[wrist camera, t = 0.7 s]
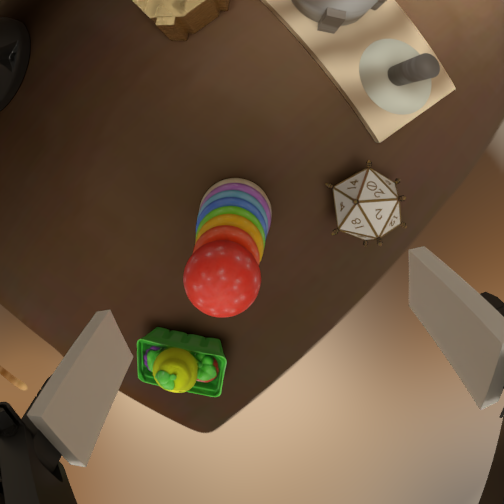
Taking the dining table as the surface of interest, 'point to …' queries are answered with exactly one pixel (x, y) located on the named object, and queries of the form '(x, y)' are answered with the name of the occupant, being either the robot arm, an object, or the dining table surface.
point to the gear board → (369, 57)
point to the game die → (367, 205)
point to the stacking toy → (228, 248)
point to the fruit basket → (181, 362)
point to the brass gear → (181, 15)
